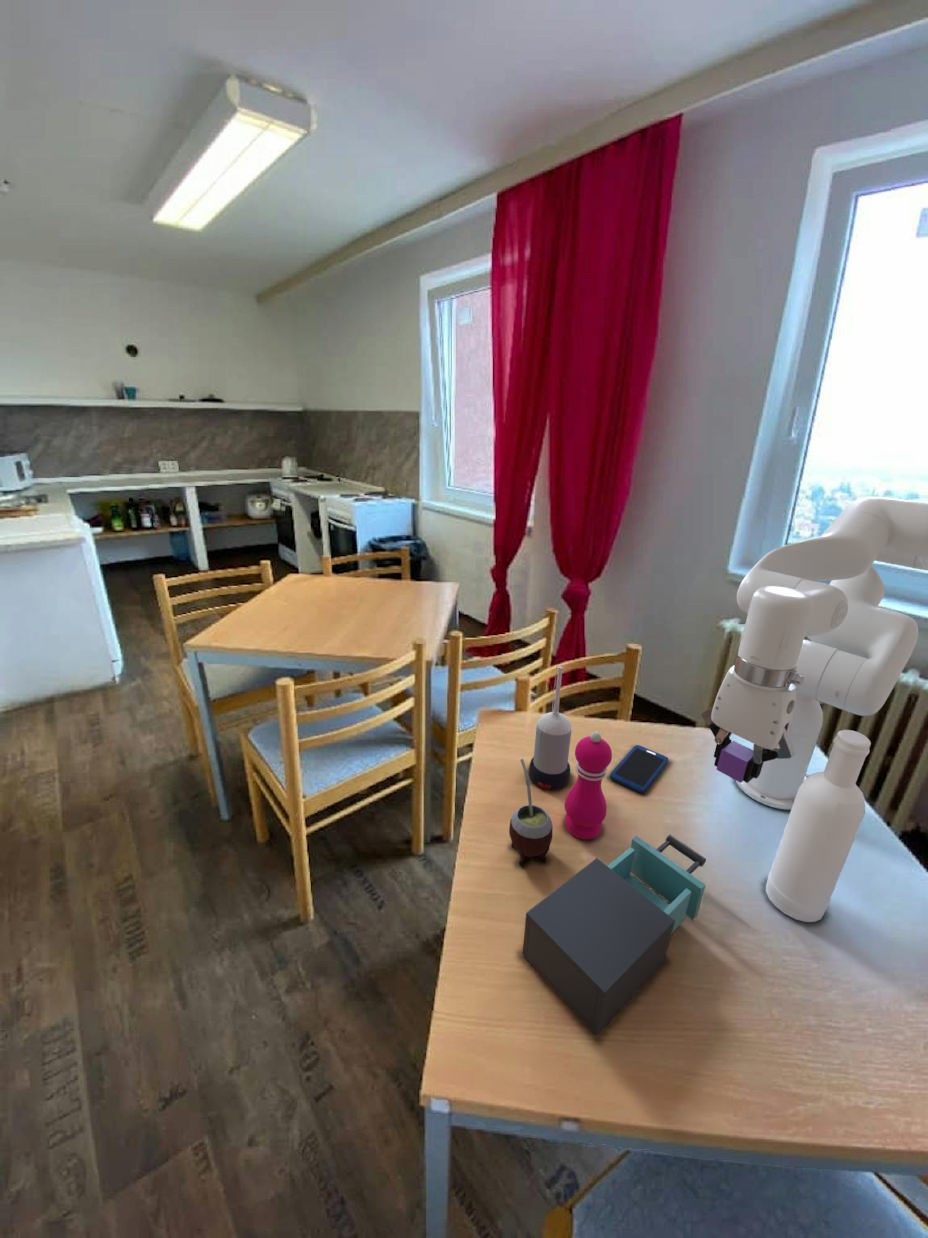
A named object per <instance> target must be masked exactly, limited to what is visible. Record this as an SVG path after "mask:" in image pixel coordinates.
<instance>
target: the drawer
mask: <svg viewBox="0 0 928 1238" xmlns="http://www.w3.org/2000/svg"><path fill="white" fill-rule="evenodd" d="M669 846H670V847H672V848H674V849H675V850H677V851H678V852H679V853H680V854H682V855H684V856H685V857H686V858H687V859H689V860H691V861H692V862H693V863H692V864H691V865H690V866H689V867H688V868H687V869H684V868H683V867H681V866H680V865H679V864H677V863H676V862H674V861H673V860H671V858H669V857H667V856H666V855H665V854H664V853H662V852H663V851H664V850H665V849H667V848H668V847H669ZM706 863H707V858H706V857H704V856H703V855H702V854H700V853H699V852H697V851H695V850H694V849H693V848H691V847H689V846H688V845H687V844H685V843H684V842H682V841H680V840H679V839H678V838H676V837H675V836H673V835H672V834H669V835H667V836H666V838H665V841H664V842H663V843H662V844H661V845H659V846H658V847H657V848H655V847H653V846H652V845H650V844H649V843H647V842H646V840H644V839H642V838H641V837H639V836H638V835H636V836H634V837H633V838H632V839H631V843H630V847H628V849H626V850H625V851H624V852H622V853H621V854H620V855H619V856H618V857H616V859H614V860H613V861H611V862H610V863H609V864H608V865H607V866H608V867H609V868H610V869H611V870H613V871H614V872H615V873H616V874H618V875H619V876H620V877H621V878H623V879H624V880H625V881H626V882H628V883H629V884H630V885H631V886H633V887H634V888H635V889H636V890H638V891H639V892H640V893H641V894H643V895H644V896H645V897H646V898H648V899H649V900H650V901H651V902H653V903H654V904H655V905H656V906H658V907H659V908H660V909H661V910H663V911H664V912H665V913H666V914H668V915H669V916H670V917H671V918H673V919H674V920H675V923H674V927H673V930H672V934H673V933H675V930H677V929H678V928H679V926H680V925H681V924H682V923H683V922H684V921H685V918H686V916H687V917H688V918H689V919H691V920H692V921H694V920H695V919H696V918H697V917H698V914H699V910H700V907H701V903H702V900H703V896H704V893H705V890H706V889H705V888H706V884H705V883H704V882H702V881H701V880H700V879H699V878H697V877H696V876H694V875H692V874H693V872H695V871H696V870H697V869H698V868H699V867H704V865H705V864H706ZM632 874H633V875H632ZM634 876H635V877H634ZM637 878H638V879H639V880H638V879H637ZM641 881H642V882H641ZM646 885H647V886H646ZM650 888H651V889H652V890H651V889H650ZM655 892H656V893H655ZM659 895H660V896H661V897H662V898H661V897H660V896H659ZM663 898H664V899H663Z"/></svg>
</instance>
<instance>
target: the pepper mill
mask: <svg viewBox="0 0 928 1238" xmlns="http://www.w3.org/2000/svg"><path fill="white" fill-rule="evenodd" d="M574 756H575V759H576V765H575V772H576V773H577V779H576V782H575V783H574V784H573V786H572V788H571V789H570V790H569V791H568V793H567V795H566V797H565V800H564V811H565V813H566V814H565V819H564V825H565V829H566V830H567V831H568V833H569V834H570V835H572V836H573V837H575V838H577V839H581V840H587V841H588V840H593V839H595V838H597V837H598V836H599V835H600V834H601V830H602V826H603V825H602V824H603V821H605V819H606V817H607V815H608V814H607V811H608V806H607V801H606V797H605V795H604V792H603V790H602V782H603V779H605V778H606V775H607V770H608V767H609V765H610V764H611V762H612V759H613V753H612V748H611V746H610V744H609V743H608V742H607V741H606V740H605V739H603V738H602V735H601V733H600V732H599V731H592V732H591V733H590V735H589V736H585V737H583V738H581V739H580V740H579V741H578V742H577V744H576V745H575V749H574Z"/></svg>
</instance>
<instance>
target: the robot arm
mask: <svg viewBox="0 0 928 1238" xmlns="http://www.w3.org/2000/svg"><path fill="white" fill-rule="evenodd" d="M875 561H876V562H882V563H885V564H891V565H897V566H902V567H905V568H906V567H907V568H913V569H917V570H923V571H928V502H927V501H921V500H920V501H918V500H910V499H901V498H893V497H886V496H865V497H860V498H858V499H855V500H854V501H852V502H851V503H849V504H848V505H847V506H846V507H845V508H844V509H843V510H842V511H841V512H840V513H839V515H838V516H837V517H836V518H835V519H834V520H833V521H832V522H831V524H829V526H827V527H826V529H825V530H824V531H823V532H822V533H821V535H820V536H815V537H811V538H807V539H803V540H798V541H796V542H792V543H789V544H785V545H782V546H779V547H777V548H775V549H772V550H771V551H769V552H767V553H766V554H765V555H763V556H762V557H761V558H760V559H759V560H758V561H757V562H756V563H755V564H754V565H753V566H752V568H751V569H749V571H747V573H746V575H745V576H744V578H743V579H742V581H741V582H740V583H739V586H738V588H737V591H736V602H737V606H738V608H739V610H740V611H741V612H743V613H744V614H746V620H745V624H744V628H743V631H742V634H741V638H740V642H739V647H738V650H737V655H736V659H735V663H734V665H732V666H731V667H730V668H729V669H728V671H727V673H726V674H725V676H724V678H723V681H722V682H721V685H720V687H719V689H718V692H717V695H716V697H715V699H714V703H713V705H712V706H711V707H709V708H708V709H706V710H705V711H703V712H702V713H701V714H700V718H702V720H703V721H704V722H705V723H706V724H707V725H708V726H709V727H708V728H709V730H710V731H711V733H712V735H713V737H714V743H715V744H716V745H715V749H714V753H713V758H715V760H714V762H713V763H714V764H713V766H714V767H716V768H717V766H718V762H719V758H720V754H721V751H722V749H723V748H725V747H726V746H727V745H729V744H730V743H732V742H733V740H732V739H731V736H732V734H733V735H735V736H737V737H739V738H741V739H743V740H745V741H747V742H749V743H752V744H753V745H752V748H751V749H752V750H754V751H753V757H752V758H751V759H750V760H749V762H748V765H747V769H746V772H745V775H744V779H743V780H744V781H743V782H741V783H740V782H738V781H737V780H735V782H736V784H737V786H738V788H740V789H741V791H742V792H743V793H744V794H746V795H747V796H749V798H751V799H752V800H754V801H756V802H758V803H760V804H762V805H765V806H768V807H770V808H775V809H777V810H778V809H779V810H786V811H787V810H788V811H791V810H792V807H793V804H794V801H795V798H796V795H797V792H798V789H799V787H800V785H801V784H802V783H803V782H804V781H805V780H806V779H807V778H808V777H809V776H810V775H811V774H808V773H807V771H808V768H809V766H810V763H811V760H812V757H813V754H814V751H815V748H816V746H817V743H818V739H819V736H820V734H821V732H822V731H821V730H822V728H823V724H824V713H823V709H822V707H821V704H820V702H821V703H823V704H825V705H829V706H832V707H833V708H837V709H839V710H842V711H845V712H847V713H850V714H854V715H857V716H860V717H862V716H863V717H870V716H872V715H875V714H876V713H878V712H879V711H880V710H881V708H882V707H883V706H884V705H885V703H886V701H887V699H888V698H889V697H890V695H891V692H892V691H893V689H894V687H895V685H896V684H897V681H898V680H899V678H900V676H901V675H902V672H903V670H904V669H905V667H906V665H907V664H908V662H909V659H910V658H911V656H912V654H913V652H914V650H915V647H916V645H917V641H918V638H919V627H918V626H919V625H918V622H917V621H916V620H915V619H914V618H913V617H912V616H910V615H907V614H905V613H903V612H899V611H895V610H892V609H887V608H884V607H879V605H880V604H881V602H882V600H883V599H884V597H885V595H886V588H885V585H884V582H883V580H882V577H881V576H880V573H878V571H877V570H876V568H875V567H874V566H873V564H874V562H875ZM819 581H820V582H819ZM823 581H824V582H826V581H830V582H829V584H827V583H824V582H823ZM805 638H807V639H805Z"/></svg>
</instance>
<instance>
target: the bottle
mask: <svg viewBox="0 0 928 1238" xmlns="http://www.w3.org/2000/svg"><path fill="white" fill-rule="evenodd" d="M832 742H833V745H832V748H831V751H830V753H829V756H828V759H827V762H826V764H825V768H824V771H819V772H814V773H811V774H809V775H810V776H809V777H808V778H807V779H806V780H805V781H804V782H803V783H802V784H801V785H800V787H799V789H798V792H797V795H796V798H795V801H794V804H793V807H792V810H790V812H789V816H788V817H787V818H788V819H787V821H786V823H785V824H786V825H785V828H784V831H783V833H782V836H781V840H780V842H779V845H778V848H777V851H776V854H775V856H774V860H773V863H772V866H771V869H770V870H769V873H768V875H767V881H766V884H765V892H766V895H767V897H768V899H769V901H770V902H771V903H772V904H773V905H774V906H775V907H776V909H778V910H779V911H781V913H783V914H785V915H787V916H788V917H790V918H792V919H794V920H796V921H800V922H805V923H816V922H818V921H820V920H822V918H823V916H824V914H825V912H826V911H827V909H828V907H829V905H830V903H831V898H832V895H833V893H834V891H835V888H836V886H837V883H838V881H839V878H840V877H841V874H842V872H843V869H844V866H845V864H846V861H847V859H848V857H849V854H850V851H851V849H852V846H853V844H854V842H855V839H856V837H857V834H858V832H859V829H860V827H861V825H862V823H863V819H864V817H865V815H866V803H865V797H864V796H865V795H864V793H863V791H862V790H861V789H860V787H859V786H858V785H857V781H858V778H859V775H860V773H861V770H862V767H863V765H864V762H865V760H866V757H867V756H868V755H869V754H870V751H871V750H870V748H871V745H872V742H871V740H870V739H869V738H868V737H867V736H866V735H864V734H863V733H861V732H858V731H855V730H852V729H842V730H839V731H838V732H837V734H836V736H835V737H834V738H833V740H832Z"/></svg>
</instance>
